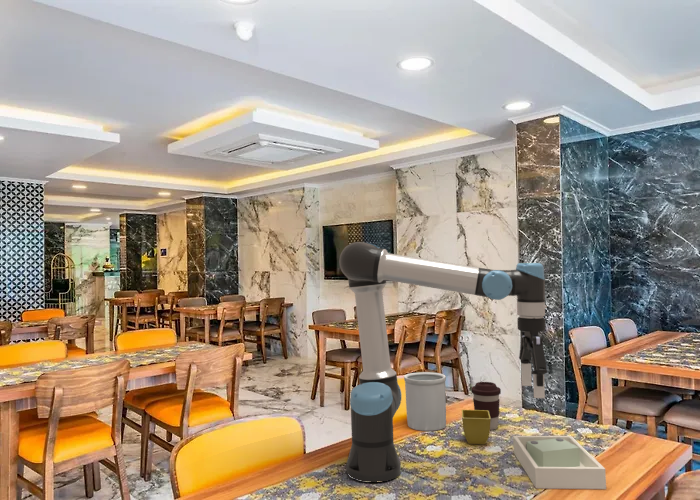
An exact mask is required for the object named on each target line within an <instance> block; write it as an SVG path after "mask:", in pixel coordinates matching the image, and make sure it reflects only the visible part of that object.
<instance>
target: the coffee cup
mask: <svg viewBox="0 0 700 500" xmlns="http://www.w3.org/2000/svg"><path fill="white" fill-rule="evenodd" d="M470 389H471V390H470V391H471V393H472V395H473V398H472V400H473V410H488V411H489V414H490V418H491V422H490V431H492V430H496V429H498V428H499V416H500V395H501V391H502V390H501V388H500V387H499V386H497V385H496V383H494V382H490V381H478V382H476V383H475V384H474V386H472V387H471V388H470Z"/></svg>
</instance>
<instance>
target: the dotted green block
mask: <svg viewBox="0 0 700 500" xmlns="http://www.w3.org/2000/svg"><path fill="white" fill-rule="evenodd" d="M527 452H528V453H529V454H530V456H531V457H532V459H533V460H534V462H535V463H536V464H537V466H538V467H577V466H580V458H579V447H577V446H575V445H573V444H571V443H570V442H568V441H566V440H564V439H562V438H556V439H546V440H537V441H528V442H527Z"/></svg>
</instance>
